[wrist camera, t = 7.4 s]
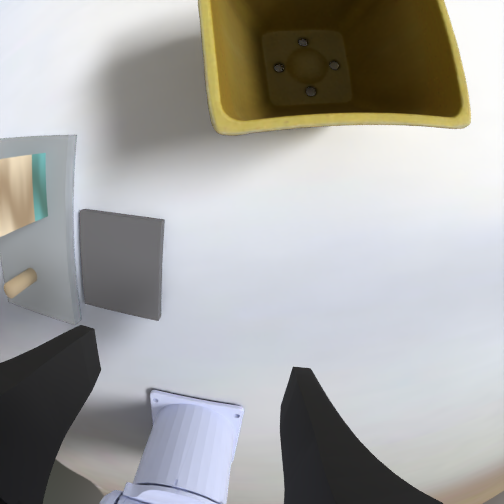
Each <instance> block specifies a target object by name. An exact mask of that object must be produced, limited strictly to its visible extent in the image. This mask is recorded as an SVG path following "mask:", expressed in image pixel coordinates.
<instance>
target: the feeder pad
mask: <svg viewBox="0 0 504 504" xmlns="http://www.w3.org/2000/svg"><path fill="white" fill-rule="evenodd" d="M163 236H164V220H163V219H156V218H149V217H142V216H134V215H127V214H120V213H112V212H104V211H97V210H89V209H83V210H81V211H80V245H81V264H82V278H83V289H84V299H85V304H89V305H93V306H96V307H100V308H104V309H108V310H112V311H117V312H121V313H125V314H129V315H134V316H138V317H143V318H147V319H152V320H157V321H159V319H160V317H161V280H162V254H163Z"/></svg>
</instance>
